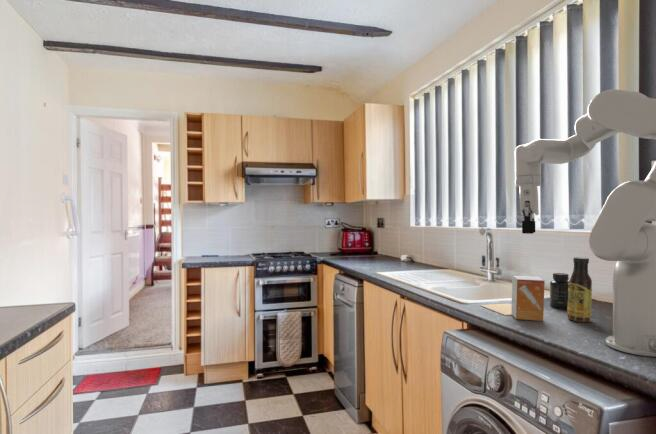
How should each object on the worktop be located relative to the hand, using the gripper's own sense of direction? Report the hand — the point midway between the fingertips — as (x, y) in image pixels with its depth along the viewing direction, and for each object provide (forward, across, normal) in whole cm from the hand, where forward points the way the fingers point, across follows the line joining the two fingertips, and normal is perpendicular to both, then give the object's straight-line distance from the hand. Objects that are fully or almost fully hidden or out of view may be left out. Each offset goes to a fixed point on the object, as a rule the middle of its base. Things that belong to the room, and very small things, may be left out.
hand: (529, 233), depth 128 cm
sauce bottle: (+28, 0, -14) cm, 31 cm away
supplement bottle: (+27, +18, -8) cm, 34 cm away
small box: (+27, -5, +1) cm, 28 cm away
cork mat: (+27, +4, +8) cm, 28 cm away
